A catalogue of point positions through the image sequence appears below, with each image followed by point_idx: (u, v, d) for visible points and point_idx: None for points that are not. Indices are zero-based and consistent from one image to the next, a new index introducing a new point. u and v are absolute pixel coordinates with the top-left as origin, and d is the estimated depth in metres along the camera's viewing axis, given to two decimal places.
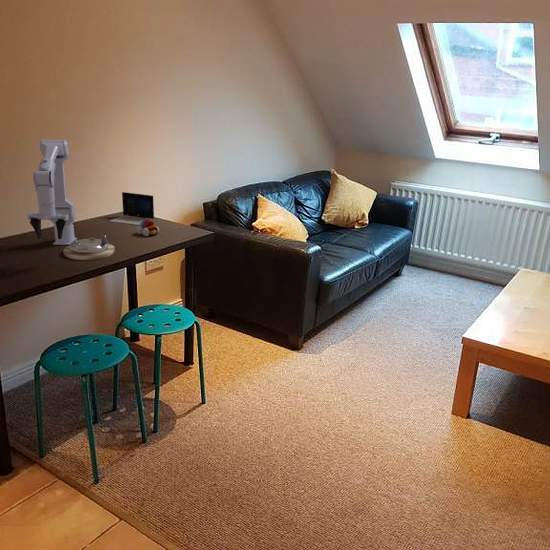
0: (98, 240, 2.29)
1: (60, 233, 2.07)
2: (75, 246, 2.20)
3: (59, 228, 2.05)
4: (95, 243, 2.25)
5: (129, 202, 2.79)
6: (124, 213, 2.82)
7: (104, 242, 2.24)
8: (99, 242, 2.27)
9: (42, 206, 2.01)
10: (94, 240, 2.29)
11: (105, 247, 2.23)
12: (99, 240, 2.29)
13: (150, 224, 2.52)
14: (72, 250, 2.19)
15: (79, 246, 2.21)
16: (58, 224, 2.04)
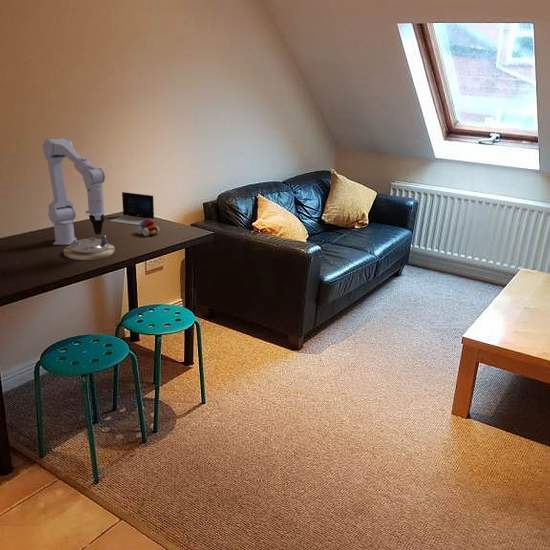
0: (98, 240, 2.29)
1: (96, 229, 2.17)
2: (75, 246, 2.20)
3: None
4: (95, 243, 2.25)
5: (129, 202, 2.79)
6: (124, 213, 2.82)
7: (104, 242, 2.24)
8: (99, 242, 2.27)
9: (88, 201, 2.14)
10: (94, 240, 2.29)
11: (105, 247, 2.23)
12: (99, 240, 2.29)
13: (150, 224, 2.52)
14: (72, 250, 2.19)
15: (79, 246, 2.21)
16: (90, 219, 2.14)
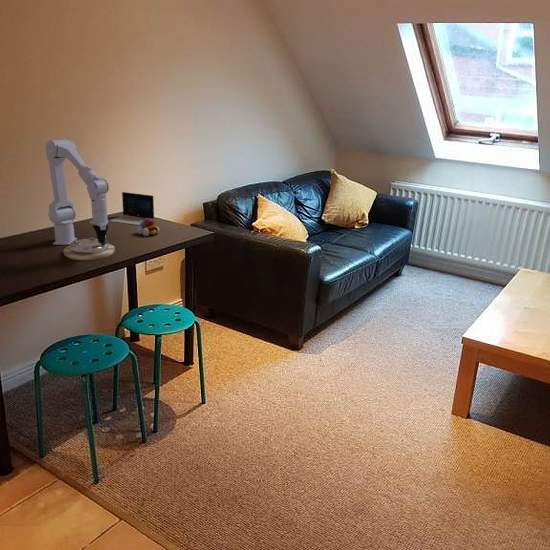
0: None
1: (100, 238, 2.21)
2: (75, 246, 2.20)
3: (96, 233, 2.19)
4: (95, 243, 2.25)
5: (129, 202, 2.79)
6: (124, 213, 2.82)
7: (104, 242, 2.24)
8: None
9: (92, 211, 2.17)
10: (94, 240, 2.29)
11: (105, 247, 2.23)
12: None
13: (150, 224, 2.52)
14: (72, 250, 2.19)
15: (79, 246, 2.21)
16: None
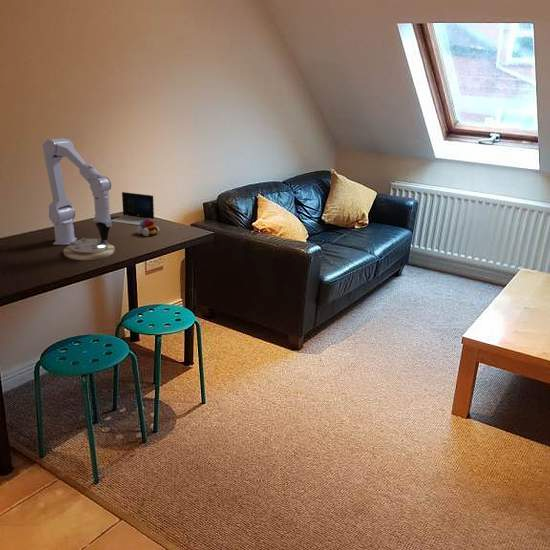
0: (92, 239, 2.30)
1: (103, 235, 2.25)
2: (80, 247, 2.19)
3: (99, 230, 2.23)
4: (94, 242, 2.26)
5: (129, 202, 2.79)
6: (124, 213, 2.82)
7: (104, 240, 2.27)
8: (96, 241, 2.28)
9: (95, 209, 2.20)
10: (88, 240, 2.29)
11: None
12: (93, 240, 2.29)
13: (150, 224, 2.52)
14: (79, 252, 2.18)
15: (83, 246, 2.20)
16: (97, 226, 2.22)
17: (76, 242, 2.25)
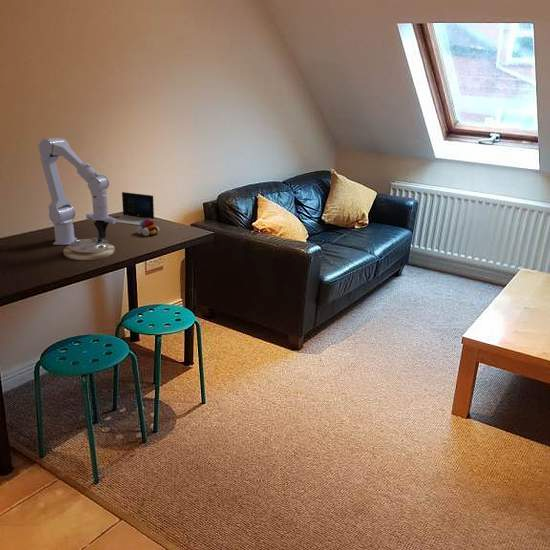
0: (86, 240, 2.29)
1: None
2: (86, 248, 2.19)
3: (99, 228, 2.25)
4: (92, 242, 2.27)
5: (129, 202, 2.79)
6: (124, 213, 2.82)
7: None
8: (92, 240, 2.28)
9: (94, 208, 2.21)
10: (83, 241, 2.28)
11: None
12: (87, 240, 2.29)
13: (150, 224, 2.52)
14: (87, 252, 2.18)
15: (88, 247, 2.20)
16: (98, 225, 2.23)
17: (74, 244, 2.23)
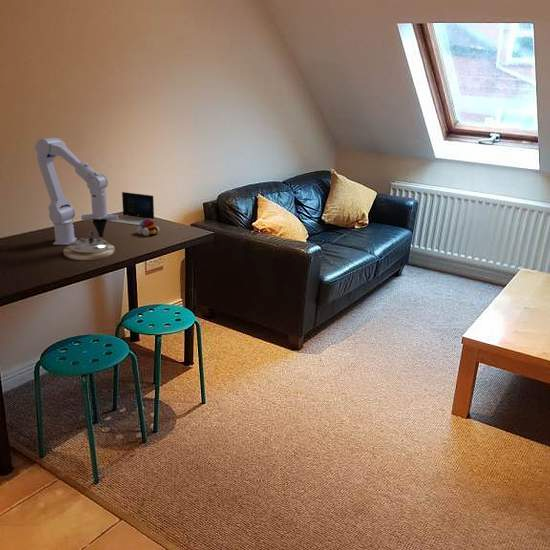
0: (77, 241, 2.26)
1: (102, 232, 2.29)
2: (96, 247, 2.21)
3: (102, 227, 2.27)
4: (88, 242, 2.27)
5: (129, 202, 2.79)
6: (124, 213, 2.82)
7: None
8: (85, 241, 2.28)
9: (96, 208, 2.23)
10: (77, 242, 2.25)
11: None
12: (79, 241, 2.27)
13: (150, 224, 2.52)
14: (99, 250, 2.20)
15: (95, 246, 2.22)
16: (102, 223, 2.26)
17: (76, 246, 2.20)
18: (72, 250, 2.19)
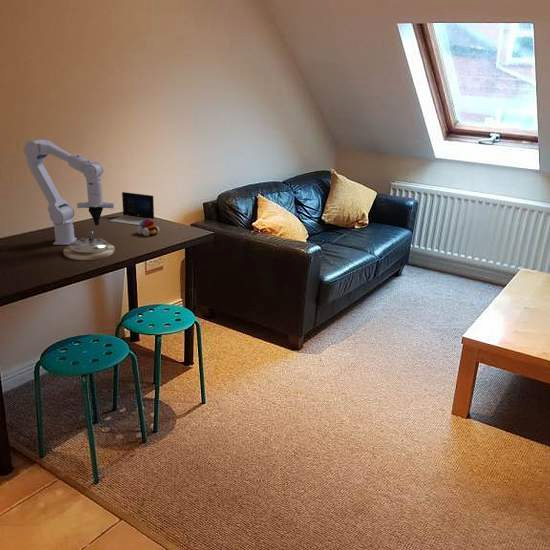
0: (77, 241, 2.26)
1: (98, 220, 2.30)
2: (96, 247, 2.21)
3: (98, 215, 2.28)
4: (88, 242, 2.27)
5: (129, 202, 2.79)
6: (124, 213, 2.82)
7: None
8: (85, 241, 2.28)
9: (92, 195, 2.24)
10: (77, 242, 2.25)
11: None
12: (79, 241, 2.27)
13: (150, 224, 2.52)
14: (99, 250, 2.20)
15: (95, 246, 2.22)
16: (97, 211, 2.27)
17: (76, 246, 2.20)
18: (72, 250, 2.19)
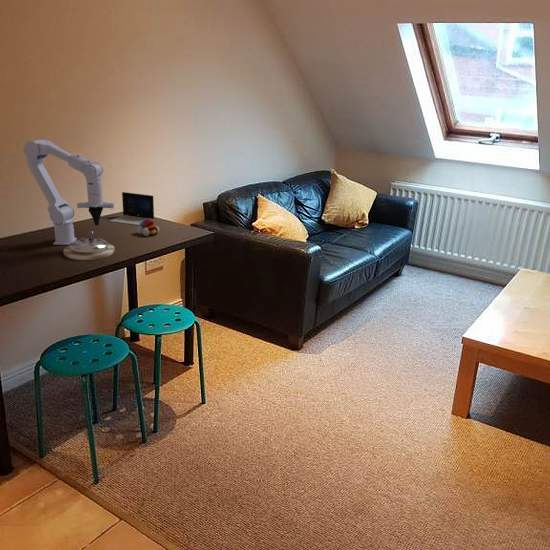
0: (77, 241, 2.26)
1: (98, 220, 2.30)
2: (96, 247, 2.21)
3: (98, 215, 2.28)
4: (88, 242, 2.27)
5: (129, 202, 2.79)
6: (124, 213, 2.82)
7: None
8: (85, 241, 2.28)
9: (92, 195, 2.24)
10: (77, 242, 2.25)
11: None
12: (79, 241, 2.27)
13: (150, 224, 2.52)
14: (99, 250, 2.20)
15: (95, 246, 2.22)
16: (97, 211, 2.27)
17: (76, 246, 2.20)
18: (72, 250, 2.19)
